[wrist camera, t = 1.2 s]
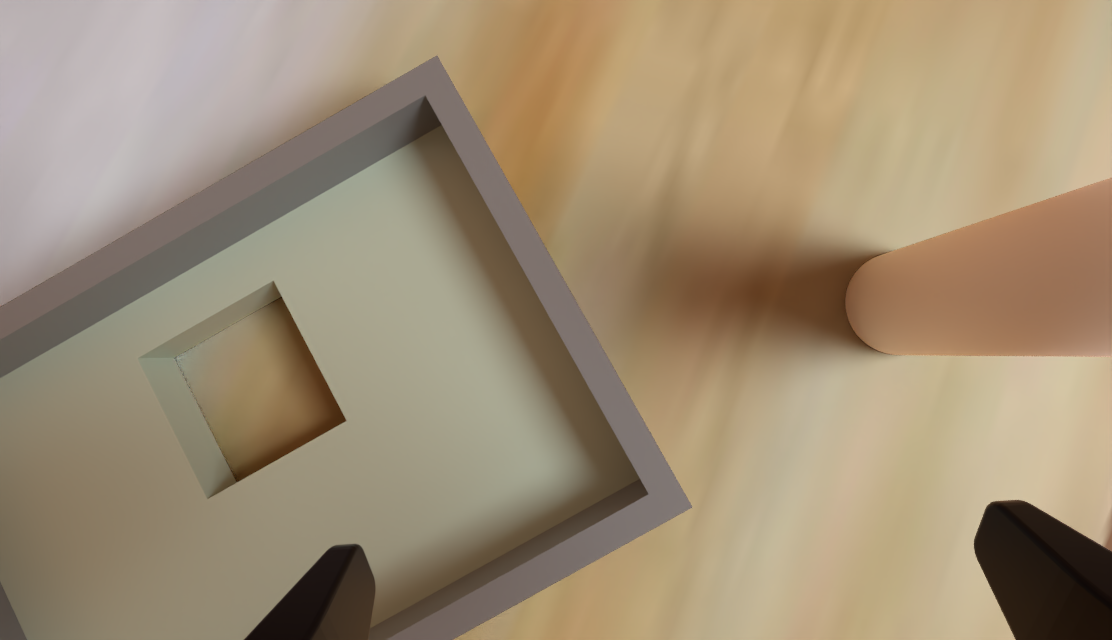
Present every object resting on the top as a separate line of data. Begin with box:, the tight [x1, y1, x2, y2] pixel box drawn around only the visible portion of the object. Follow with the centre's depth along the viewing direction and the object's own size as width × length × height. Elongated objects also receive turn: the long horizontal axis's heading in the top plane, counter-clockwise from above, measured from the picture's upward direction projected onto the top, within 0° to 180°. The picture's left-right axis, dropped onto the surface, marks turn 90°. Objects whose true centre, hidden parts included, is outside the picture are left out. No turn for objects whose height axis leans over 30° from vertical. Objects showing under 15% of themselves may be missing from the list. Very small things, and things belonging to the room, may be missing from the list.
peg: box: [845, 178, 1112, 357], centre depth 17 cm, size 4×4×13 cm
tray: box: [0, 56, 692, 640], centre depth 22 cm, size 17×25×4 cm
